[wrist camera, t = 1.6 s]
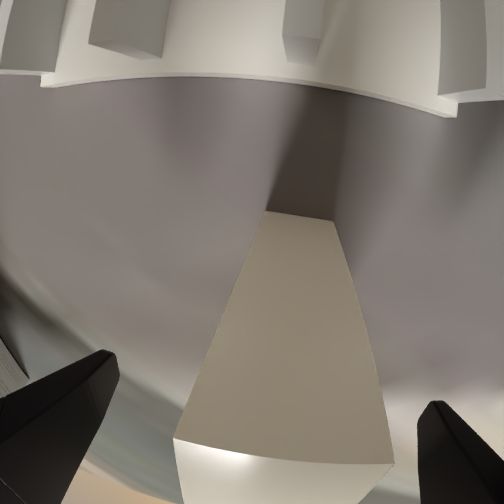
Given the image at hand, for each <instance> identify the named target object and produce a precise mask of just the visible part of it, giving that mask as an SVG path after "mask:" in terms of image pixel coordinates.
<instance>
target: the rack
mask: <svg viewBox="0 0 504 504" xmlns="http://www.w3.org/2000/svg"><path fill="white" fill-rule="evenodd" d="M0 74H22V75H41V76H42V77H41V86H40V87H54V88H56V87H62V86H68V85H75V84H82V83H89V82H98V81H107V80H117V79H130V78H146V77H177V76H196V77H229V78H245V79H258V80H269V81H278V82H287V83H295V84H302V85H309V86H316V87H322V88H328V89H334V90H339V91H344V92H349V93H354V94H359V95H364V96H368V97H373V98H377V99H381V100H385V101H389V102H393V103H397V104H401V105H404V106H408V107H412V108H415V109H418V110H422V111H425V112H428V113H432V114H435V115H438V116H441V117H444V118H448V117H457V109H458V103H465V102H477V101H493V100H504V0H2V3H1V7H0Z"/></svg>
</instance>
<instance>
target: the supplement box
mask: <svg viewBox="0 0 504 504" xmlns="http://www.w3.org/2000/svg"><path fill="white" fill-rule="evenodd" d="M28 382H29V379H28V378H27V376H26V375H25V374H24V372H23V371H22V370H21V368H20V367H19V366H18V364H17V363H16V361H15V360H14V358H13V357H12V355H11V354H10V353H9V351H8V350H7V348H6V346H5V345H4V343H3V342H2V340H1V338H0V398H1V397H3V396H4V397H5V396H6V395H8V394H10V393H12V392H14V391H16V390H18V389H20V388H23V387H25V385H26V384H27V383H28Z"/></svg>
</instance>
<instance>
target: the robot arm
mask: <svg viewBox="0 0 504 504" xmlns="http://www.w3.org/2000/svg"><path fill="white" fill-rule="evenodd" d="M119 377H120V373H119V368H118V363H117V358H116V355H115V354H114V353H113V352H110V351H107V350H103V349H102V350H99V351H97V352H95V353H93V354H91V355H89V356H87V357H85V358H83V359H81V360H79V361H77V362H75V363H72V364H70V365H68V366H66V367H64V368H62V369H60V370H58V371H56V372H54V373H52V374H50V375H48V376H46V377H44V378H41V379H39V380H37V381H35V382H33V383H31V384H29V385H27V386H25V387H23V388H20V389H18V390H16V391H14V392H12V393H10V394H8V395H6V396H5V397H4V396H3V397H1V398H0V504H61V502H62V500H63V498H64V496H65V494H66V492H67V490H68V488H69V485H70V483H71V481H72V479H73V477H74V475H75V473H76V471H77V469H78V467H79V466H80V464H81V462H82V460H83V458H84V456H85V454H86V452H87V450H88V448H89V446H90V444H91V442H92V440H93V438H94V437H95V435H96V433H97V431H98V429H99V427H100V425H101V423H102V421H103V419H104V416H105V414H106V411H107V409H108V406H109V403H110V401H111V398H112V396H113V393H114V391H115V388H116V386H117V383H118V381H119ZM417 437H418V475H419V486H420V499H421V504H504V461H503V460H502V458H501V457H500V456H499V455H498V454H497V453H496V452H495V451H494V450H493V449H492V448H491V447H490V446H489V445H488V444H487V443H486V442H485V441H484V440H483V439H482V438H481V437H480V436H479V435H478V434H477V433H476V432H475V431H474V430H473V429H472V428H471V427H470V426H469V425H468V424H467V423H466V422H465V421H464V420H463V419H462V418H461V417H460V416H459V415H458V414H457V413H456V412H455V411H454V410H453V409H452V408H451V407H450V406H449V405H448V404H447V403H446V402H444V401H442V400H439V401H431V402H430V403H429V404H428V405H427V407H426V408H425V410H424V411H423V413H422V414H421V416H420V417H419V420H418V423H417Z"/></svg>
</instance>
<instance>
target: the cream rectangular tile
mask: <svg viewBox="0 0 504 504" xmlns="http://www.w3.org/2000/svg"><path fill="white" fill-rule="evenodd" d="M173 443H174V450H175V456H176V462H177V468H178V474H179V480H180V485H181V490H182V496H183V501H184V504H357V503H358V502H360V501H361V500H362V499H363V498H364V497H365V496H366V495H367V494H368V493H369V492H370V490H371V489H372V488H373V487H374V486H375V485H376V484H377V483H378V482H379V481H380V480H381V479H382V478H383V477H384V476H385V474H386V473H387V472H388V471H389V470H390V469H391V468H392V467H393V465H394V464H395V461H394V454H393V449H392V443H391V437H390V432H389V426H388V421H387V416H386V411H385V406H384V401H383V397H382V392H381V388H380V383H379V379H378V374H377V370H376V366H375V362H374V358H373V354H372V350H371V346H370V342H369V338H368V334H367V330H366V326H365V323H364V319H363V315H362V312H361V308H360V305H359V301H358V298H357V294H356V291H355V288H354V284H353V281H352V278H351V274H350V271H349V268H348V265H347V261H346V258H345V255H344V252H343V249H342V246H341V243H340V240H339V237H338V234H337V231H336V228H335V225H334V222H333V221H328V220H322V219H316V218H309V217H303V216H297V215H290V214H284V213H277V212H270V211H265V213H264V215H263V217H262V220H261V222H260V225H259V227H258V230H257V232H256V235H255V237H254V239H253V242H252V244H251V247H250V249H249V252H248V254H247V256H246V259H245V261H244V264H243V266H242V269H241V271H240V274H239V276H238V278H237V281H236V283H235V286H234V288H233V291H232V293H231V296H230V298H229V301H228V303H227V305H226V308H225V310H224V313H223V315H222V318H221V320H220V323H219V325H218V327H217V330H216V332H215V335H214V337H213V340H212V342H211V345H210V347H209V350H208V352H207V355H206V357H205V359H204V362H203V364H202V367H201V369H200V372H199V374H198V377H197V379H196V382H195V384H194V387H193V389H192V392H191V394H190V396H189V399H188V401H187V404H186V406H185V409H184V411H183V414H182V416H181V419H180V421H179V424H178V426H177V429H176V431H175V434H174V436H173Z"/></svg>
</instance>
